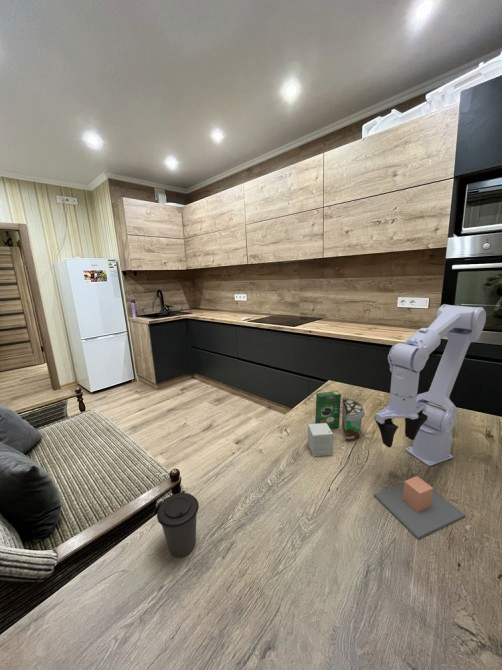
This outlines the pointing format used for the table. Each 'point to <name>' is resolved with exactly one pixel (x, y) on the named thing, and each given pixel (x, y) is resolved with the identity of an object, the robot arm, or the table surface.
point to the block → (417, 494)
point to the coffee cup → (179, 523)
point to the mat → (423, 520)
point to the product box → (320, 439)
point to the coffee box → (328, 409)
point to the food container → (351, 418)
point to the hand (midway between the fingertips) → (398, 441)
